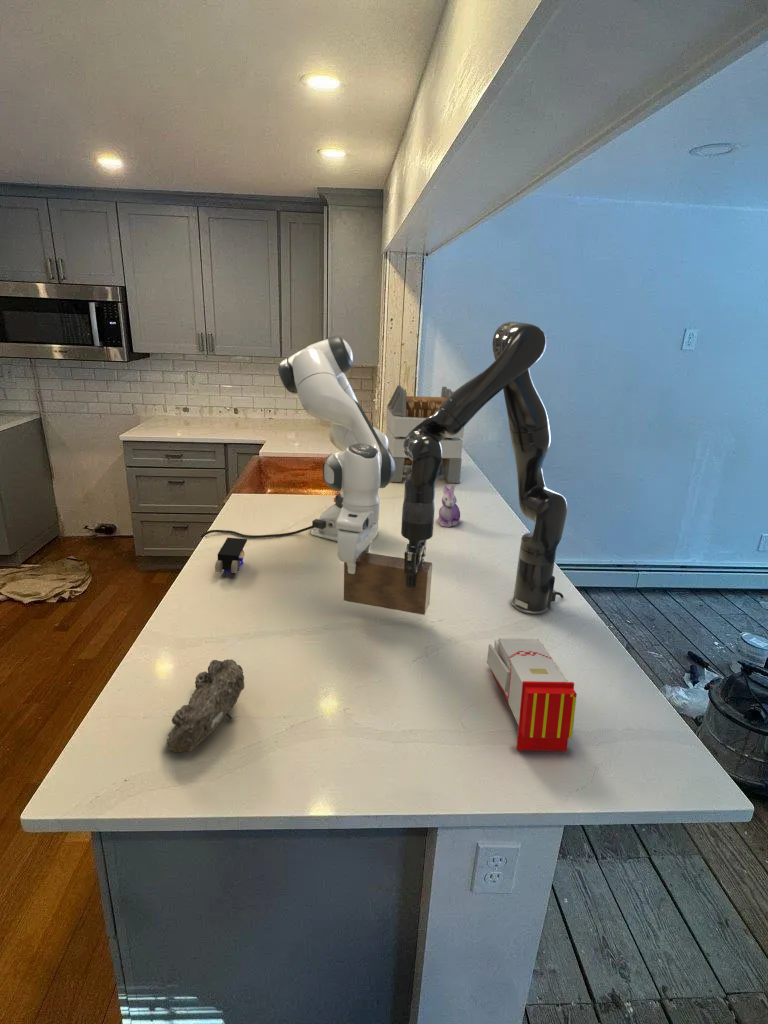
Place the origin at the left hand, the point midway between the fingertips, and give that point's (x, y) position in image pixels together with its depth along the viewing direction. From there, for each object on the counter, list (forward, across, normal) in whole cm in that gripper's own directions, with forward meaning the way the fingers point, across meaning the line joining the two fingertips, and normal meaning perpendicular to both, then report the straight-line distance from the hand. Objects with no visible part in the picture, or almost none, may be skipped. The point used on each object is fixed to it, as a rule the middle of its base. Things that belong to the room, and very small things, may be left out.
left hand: (358, 564), depth 141 cm
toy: (+14, +21, +43) cm, 50 cm away
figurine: (+14, -76, +10) cm, 78 cm away
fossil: (+15, +45, -13) cm, 49 cm away
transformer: (+13, -138, -16) cm, 140 cm away
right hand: (+2, -1, +14) cm, 14 cm away
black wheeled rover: (+14, -12, -43) cm, 47 cm away
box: (+9, -1, +8) cm, 12 cm away
